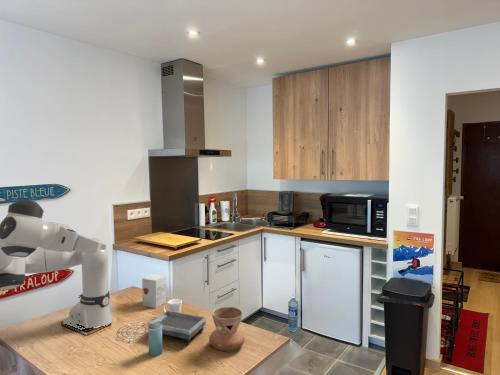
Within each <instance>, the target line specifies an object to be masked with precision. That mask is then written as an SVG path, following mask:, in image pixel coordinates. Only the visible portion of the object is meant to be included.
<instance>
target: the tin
mask: <svg viewBox="0 0 500 375" xmlns="http://www.w3.org/2000/svg"><path fill="white" fill-rule="evenodd" d="M147 329H148V331H147V332H148V355H149V356H150V357H153V358H155V357H160V356H161V355H162V354H163V334H162V324H160V323H153V324H150V325H149V324H148V326H147Z"/></svg>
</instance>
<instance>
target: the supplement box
mask: <svg viewBox="0 0 500 375" xmlns="http://www.w3.org/2000/svg"><path fill="white" fill-rule="evenodd" d="M166 278H167V276H166V275H164V274H157V273H151V274H149V275H147V276H144V277H142V280H141V283H142V288H141V290H142V295H141V296H142V306H143V307H148V308H153V309H158V308H159V307H160V306H163V305H164V304H165V303H166V302H167V301H166V300H167V298H166V296H167V292H166V290H167V287H166V285H167V284H166V282H167V279H166Z"/></svg>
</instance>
